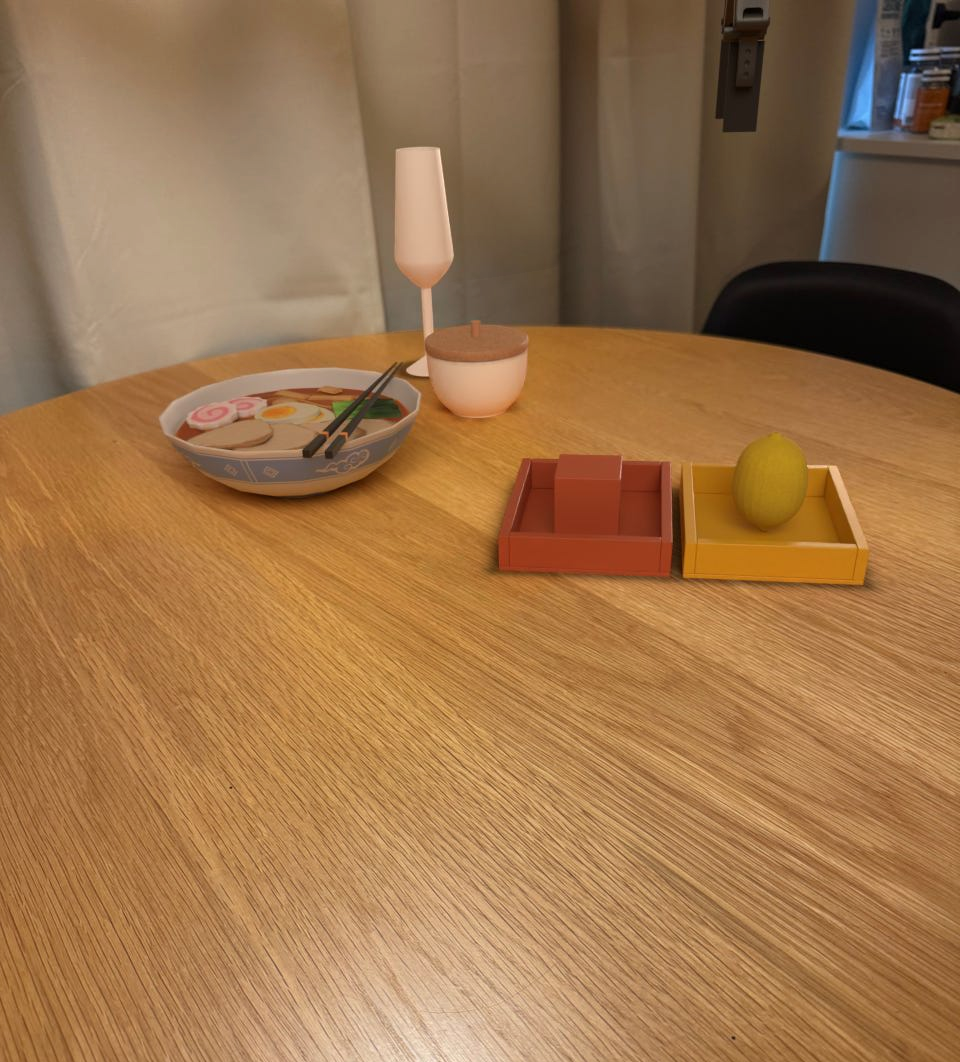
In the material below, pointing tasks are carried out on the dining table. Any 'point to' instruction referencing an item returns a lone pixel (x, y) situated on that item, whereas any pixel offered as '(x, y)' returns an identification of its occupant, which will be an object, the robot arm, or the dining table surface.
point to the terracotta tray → (541, 550)
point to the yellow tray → (769, 532)
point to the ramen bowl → (293, 428)
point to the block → (587, 494)
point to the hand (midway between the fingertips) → (734, 125)
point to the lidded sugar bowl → (477, 367)
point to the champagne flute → (421, 228)
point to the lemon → (770, 481)
